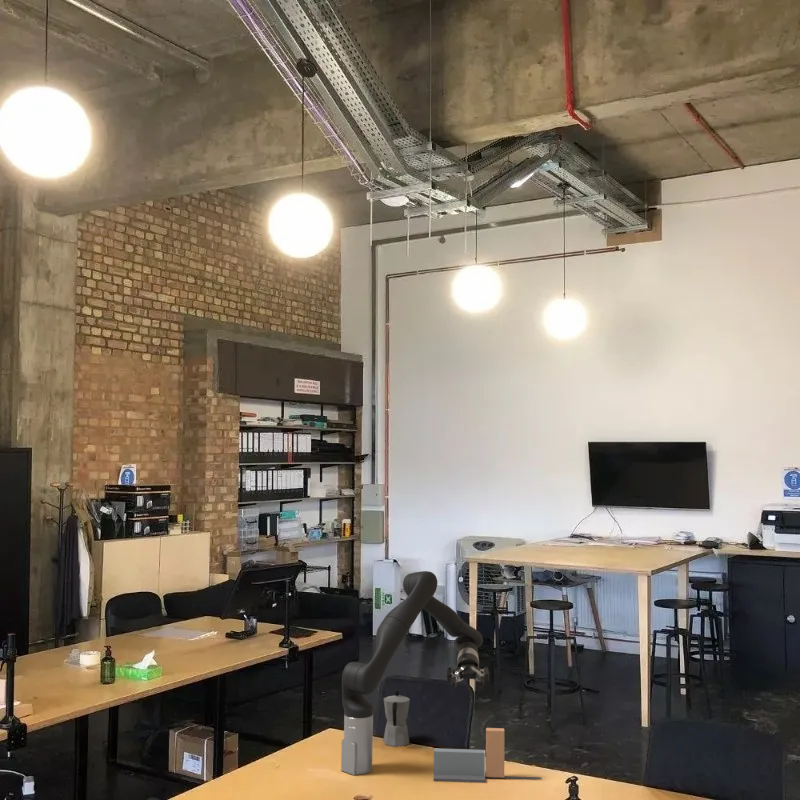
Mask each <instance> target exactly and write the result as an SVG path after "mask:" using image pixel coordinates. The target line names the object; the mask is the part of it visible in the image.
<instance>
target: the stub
mask: <svg viewBox="0 0 800 800" xmlns="http://www.w3.org/2000/svg"><path fill="white" fill-rule="evenodd" d="M485 740H486V741H485V742H486V743H485V778H487V777H504V776H505V728H499V727H486V728H485Z"/></svg>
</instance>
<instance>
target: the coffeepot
mask: <svg viewBox="0 0 800 800" xmlns="http://www.w3.org/2000/svg"><path fill="white" fill-rule="evenodd" d="M399 693H400V691H399V690H397V689H395V690H394V695H389V696H385V697H384V698H383V704H384V713H385V718H386V720H387V721H386V723H385V724H386V725H385V728H384V729H385V730H384V734H383V743H385V744H384V745H386V746H388V747H393V748H394V747H396V748H397V747H399V746H400V747H404V746H407V745H409V743H410V738H409V736H410V735H409V732H408V725H407V719H408V716H409V708H410V702H411V699H410V698H409V697H407V696H405V695H404V696H403V695H400V694H399Z"/></svg>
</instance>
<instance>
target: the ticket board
mask: <svg viewBox="0 0 800 800" xmlns="http://www.w3.org/2000/svg"><path fill="white" fill-rule="evenodd" d="M486 778H487V779H512V780H536V779H541V780H542V777H539V776H538V777H537V776H536V777H535V776H514V775H513V776H512V775H511V776H510V775H508V776H507V775H504V777H486V749H468V748H467V749H464V748H441V747H440V748H435V747H434V749H433V780H432V781H433V782H450V783H451V782H453V783H454V782H456V783H476V784H478V783H479V784H480V783H481V784H482V783H483V784H485V783H486Z"/></svg>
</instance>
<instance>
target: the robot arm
mask: <svg viewBox="0 0 800 800" xmlns="http://www.w3.org/2000/svg"><path fill="white" fill-rule="evenodd" d="M402 588H403V591H404V593H405V594H406V596H407V597H406V598H405V599H404V600H403V601H402V602H400V603H399V604H398V605H395V607H393V609H391V610H390V611H389V612H388V613H387V614H386V615H385V617H384V618H383V620H382V621H381V623H380V624H379V626H378V627H377V630H376V635H375V638H376V639H375V641H376V643H375V644H376V649H375V652H374V655H373V656H372V657H371V659H370V661H369V662H368V663H364V662H363V663H362V662H357V661H351V662H348V663H347V664H346V665H345V666H344V668H343V671H342V675H341V695H342V697H341V700H342V701H341V703H342V707H343V710H344V714H343V715H344V718H343V719H344V721H343V724H344V725H343V726H344V727H343V739H342V740H341V751H340V752H341V754H340V756H341V758H340V759H341V763H340V765H341V766H340V770H341V772H345V773H347V774H350V775H353V776H356V775H364V774H369V773H371V772H372V771H373V753H374V752H373V746H374V745H373V742H374V739H373V737H374V707H373V704H372V703H371V702H369V701H368V700H367V699H366V698H365V696H364V695H367V696H368V695H371V694H373V693H374V692H375V690H376V689H377V688H378V686H379V685H380V682H381V680H382V678H383V677H384V674H385V672H386V670H387V668H388V666H389V664H390V662H391V660H392V658H393V657H394V655H395V653H396V651H397V650H398V648H399V647H400V645H401V644H402V642H403V641H404V639H406V638H405V637H406V635H407V634H408V633H409V631H410V630H411V627H412V625H413V624H414V623H415V621H416V619H417V618H418V616H419V614H420V613H421V612H422V611H423V610H424V611H425V612H426V613H428V614H429V615H430V616H432V617H433V618H434V619H435V621H437V623H438V624H439V625H440V626H441V627H442V628H443V630H445V632H446V633H447V634H448V635H449V636H450V637H452V638H455V640H454V641H453V646H454V648H455V650H456V651H457V653H458V654H457V662H456V663H457V664H456V668H455V669H453V668H452V667H447V671H446V682H447V683H451V687H453V688H454V689H456V688H457V683H458V682H462V681H463V680H474V681H476V682H479V688H483V687H484V686H485V682H490V671H489V667H488V666H485V667H484V668H480V659H479V650H478V649H479V648H480V647H481V646H482V645H483V642H484V640H483V638H484V637H483V636H482V634H481V632H480V631H479V630H477V629H476V628H474V627H473V626H471V625H470V624H468V623H466V622H465V621H464V620H463V619H462V618H461V617H460V616H459V614H457V612H456V611H455V610H454V609H453V608H451V607H450V606H448V605H447V604H445V603H444V602H442V601H440V600H439V599H437V598H436V597H434V595H435V594H436V592H437V588H438V578H437V576H436V574H435V573H433V572H432V571H430V570H429V571H428V570H424V571H423V570H422V571H416V572H411V573H408V574H406V576H405V577H404V579H403V581H402Z"/></svg>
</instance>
